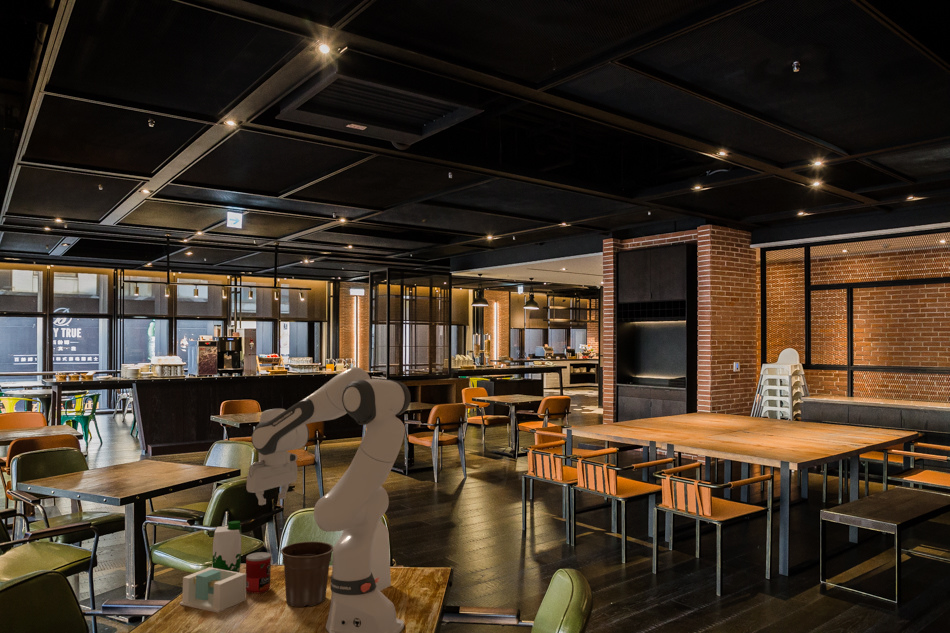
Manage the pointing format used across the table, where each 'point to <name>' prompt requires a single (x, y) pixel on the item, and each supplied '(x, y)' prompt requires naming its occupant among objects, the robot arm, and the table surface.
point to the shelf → (216, 591)
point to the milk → (381, 557)
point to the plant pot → (306, 572)
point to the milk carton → (227, 547)
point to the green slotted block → (206, 583)
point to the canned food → (258, 572)
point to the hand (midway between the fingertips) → (272, 501)
